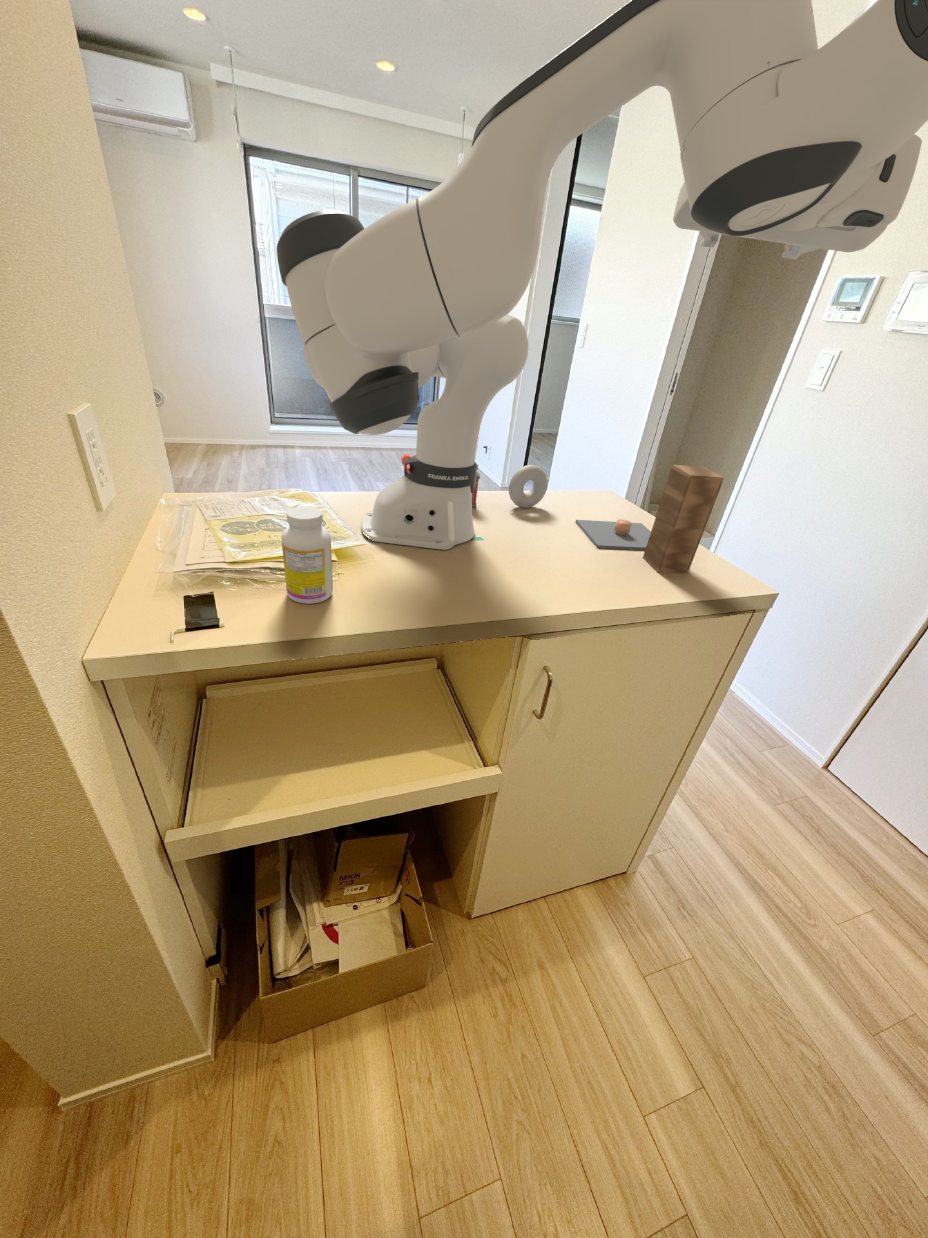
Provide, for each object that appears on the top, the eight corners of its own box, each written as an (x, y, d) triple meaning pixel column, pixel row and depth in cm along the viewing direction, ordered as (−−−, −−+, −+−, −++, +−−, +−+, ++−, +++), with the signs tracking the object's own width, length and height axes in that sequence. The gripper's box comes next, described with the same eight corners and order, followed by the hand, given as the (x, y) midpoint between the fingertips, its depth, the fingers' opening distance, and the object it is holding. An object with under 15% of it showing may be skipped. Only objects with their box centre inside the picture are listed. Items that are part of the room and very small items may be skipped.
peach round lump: (617, 536, 109) (620, 524, 107) (611, 530, 111) (614, 519, 110) (630, 536, 109) (634, 525, 108) (624, 530, 112) (628, 519, 110)
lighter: (453, 496, 121) (457, 454, 116) (466, 496, 122) (471, 454, 117) (465, 508, 115) (470, 464, 110) (479, 508, 116) (484, 464, 111)
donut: (538, 503, 123) (546, 462, 118) (546, 508, 121) (554, 466, 116) (502, 505, 119) (509, 463, 114) (510, 511, 117) (517, 467, 111)
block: (657, 572, 96) (690, 475, 87) (642, 557, 102) (672, 464, 92) (687, 573, 97) (724, 477, 88) (671, 558, 103) (704, 466, 93)
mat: (597, 547, 103) (597, 545, 103) (575, 522, 115) (576, 519, 115) (668, 551, 106) (669, 548, 106) (640, 525, 118) (641, 523, 117)
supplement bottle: (305, 579, 79) (299, 500, 73) (341, 590, 78) (339, 510, 71) (276, 598, 74) (268, 514, 67) (315, 610, 72) (310, 525, 66)
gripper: (687, 190, 48) (652, 262, 61) (914, 221, 46) (827, 288, 60) (707, 111, 46) (667, 202, 60) (942, 141, 45) (846, 227, 58)
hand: (748, 245), depth 60 cm, fingers open, 8 cm apart
